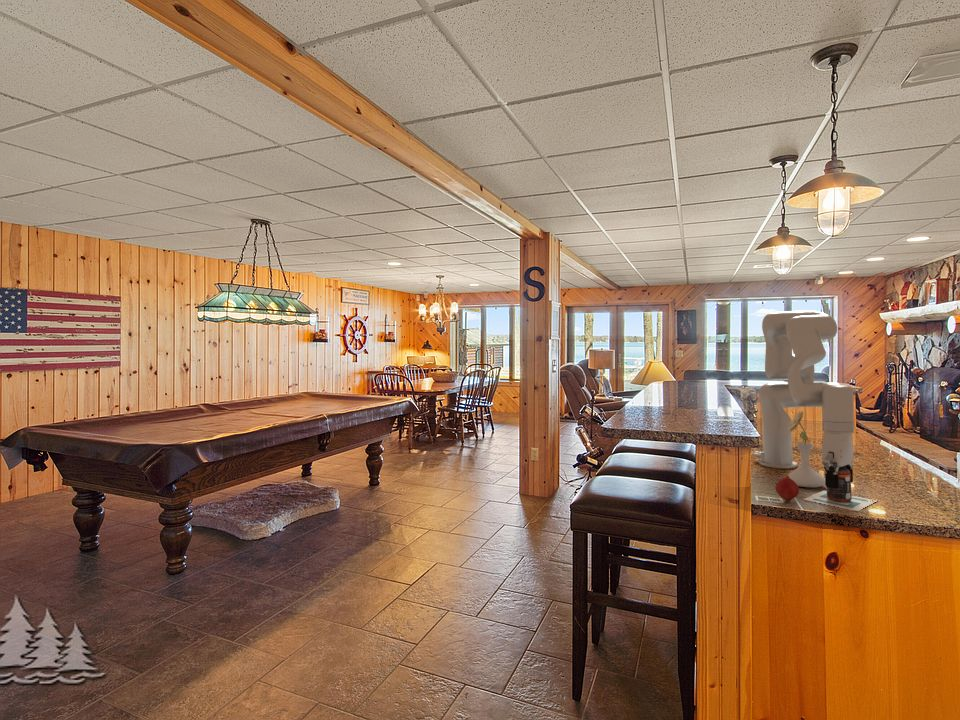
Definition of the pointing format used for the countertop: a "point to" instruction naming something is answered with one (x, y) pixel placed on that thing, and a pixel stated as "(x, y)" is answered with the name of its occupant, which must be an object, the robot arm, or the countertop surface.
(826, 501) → the letter board
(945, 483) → the countertop surface
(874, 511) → the countertop surface
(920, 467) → the countertop surface
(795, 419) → the flower in vase
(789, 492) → the onion
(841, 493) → the supplement bottle
